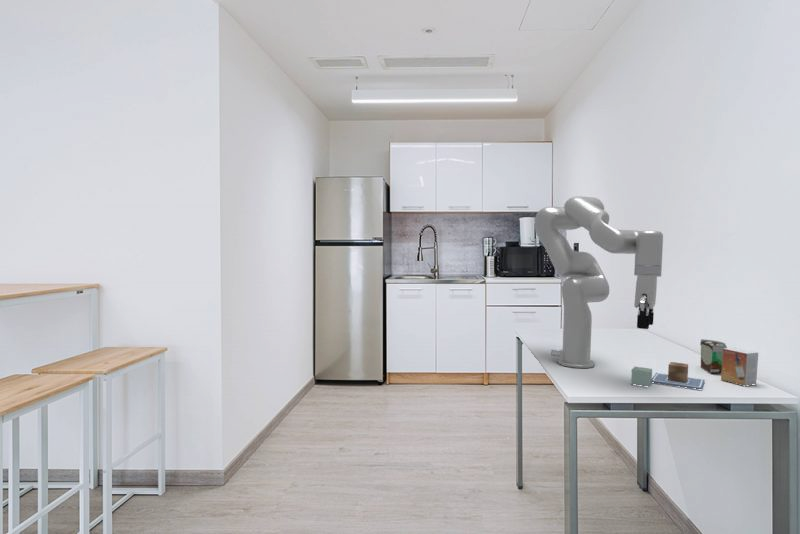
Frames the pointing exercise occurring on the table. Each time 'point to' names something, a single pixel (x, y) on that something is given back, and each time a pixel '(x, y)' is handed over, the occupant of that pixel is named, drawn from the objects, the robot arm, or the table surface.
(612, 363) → the table surface
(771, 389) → the table surface
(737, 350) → the small box
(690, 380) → the board
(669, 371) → the walnut block
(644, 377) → the sage block
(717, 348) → the food container
